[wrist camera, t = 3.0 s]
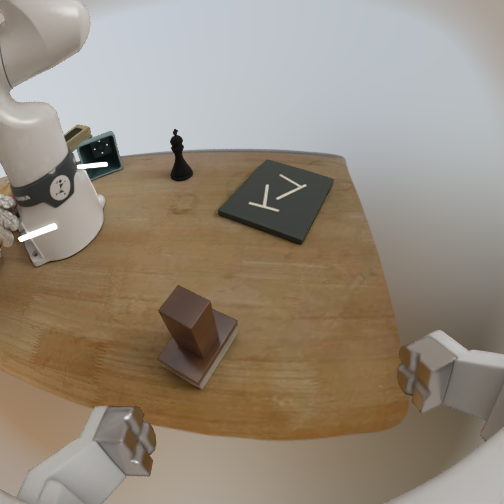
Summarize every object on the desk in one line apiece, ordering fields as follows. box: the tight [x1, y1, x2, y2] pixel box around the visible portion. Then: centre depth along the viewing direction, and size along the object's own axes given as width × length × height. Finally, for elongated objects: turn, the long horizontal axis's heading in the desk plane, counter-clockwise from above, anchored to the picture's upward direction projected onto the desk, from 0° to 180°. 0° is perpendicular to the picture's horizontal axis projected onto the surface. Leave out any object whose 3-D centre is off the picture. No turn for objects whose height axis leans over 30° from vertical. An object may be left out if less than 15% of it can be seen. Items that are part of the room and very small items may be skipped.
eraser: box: [157, 285, 238, 390], centre depth 26 cm, size 5×8×10 cm, turn 153°
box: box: [64, 125, 92, 152], centre depth 55 cm, size 8×22×5 cm, turn 147°
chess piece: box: [170, 129, 193, 181], centre depth 49 cm, size 4×4×10 cm
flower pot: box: [77, 131, 123, 181], centre depth 54 cm, size 9×9×9 cm
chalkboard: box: [218, 160, 334, 244], centre depth 47 cm, size 14×18×1 cm
